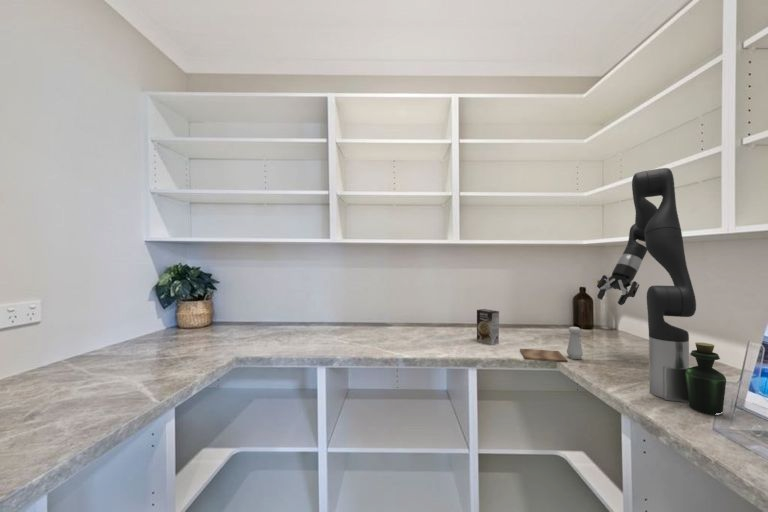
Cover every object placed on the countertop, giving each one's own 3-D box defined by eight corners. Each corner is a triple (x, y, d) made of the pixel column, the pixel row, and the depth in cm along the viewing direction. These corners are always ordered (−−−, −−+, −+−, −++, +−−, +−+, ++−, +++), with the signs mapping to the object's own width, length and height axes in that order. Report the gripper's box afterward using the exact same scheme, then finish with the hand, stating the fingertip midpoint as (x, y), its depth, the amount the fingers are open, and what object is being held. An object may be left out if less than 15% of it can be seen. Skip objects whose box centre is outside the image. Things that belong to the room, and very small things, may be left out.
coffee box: (476, 341, 165) (476, 309, 165) (484, 339, 169) (483, 308, 169) (491, 345, 158) (491, 312, 158) (499, 343, 162) (499, 310, 162)
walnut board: (558, 352, 145) (558, 351, 145) (567, 362, 132) (567, 360, 132) (519, 350, 149) (519, 348, 149) (524, 359, 136) (524, 357, 136)
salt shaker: (574, 360, 134) (574, 328, 134) (563, 356, 139) (563, 326, 139) (586, 359, 135) (585, 328, 135) (574, 355, 141) (574, 325, 141)
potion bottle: (681, 408, 90) (680, 343, 91) (689, 401, 95) (689, 339, 95) (723, 420, 84) (722, 349, 84) (730, 411, 88) (729, 345, 89)
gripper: (605, 260, 141) (588, 293, 140) (640, 265, 127) (621, 302, 127) (615, 268, 143) (598, 300, 143) (650, 274, 130) (632, 310, 129)
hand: (609, 301), depth 135 cm, fingers open, 8 cm apart
